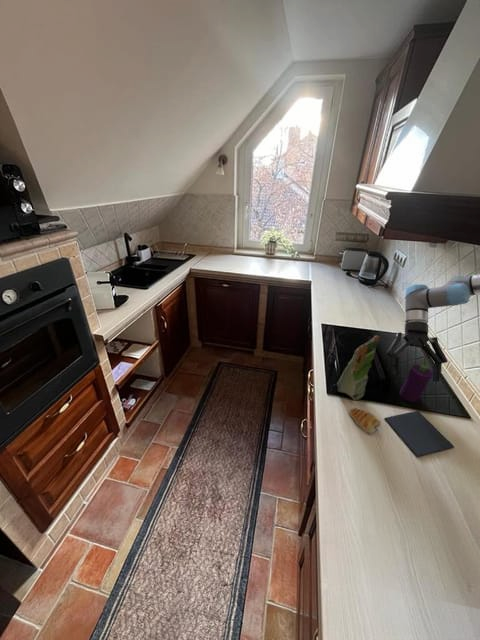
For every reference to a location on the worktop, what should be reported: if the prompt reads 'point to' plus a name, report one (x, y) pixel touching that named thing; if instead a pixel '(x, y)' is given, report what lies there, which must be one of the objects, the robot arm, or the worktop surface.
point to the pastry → (365, 420)
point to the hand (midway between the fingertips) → (415, 378)
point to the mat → (418, 433)
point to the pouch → (358, 370)
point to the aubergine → (415, 383)
